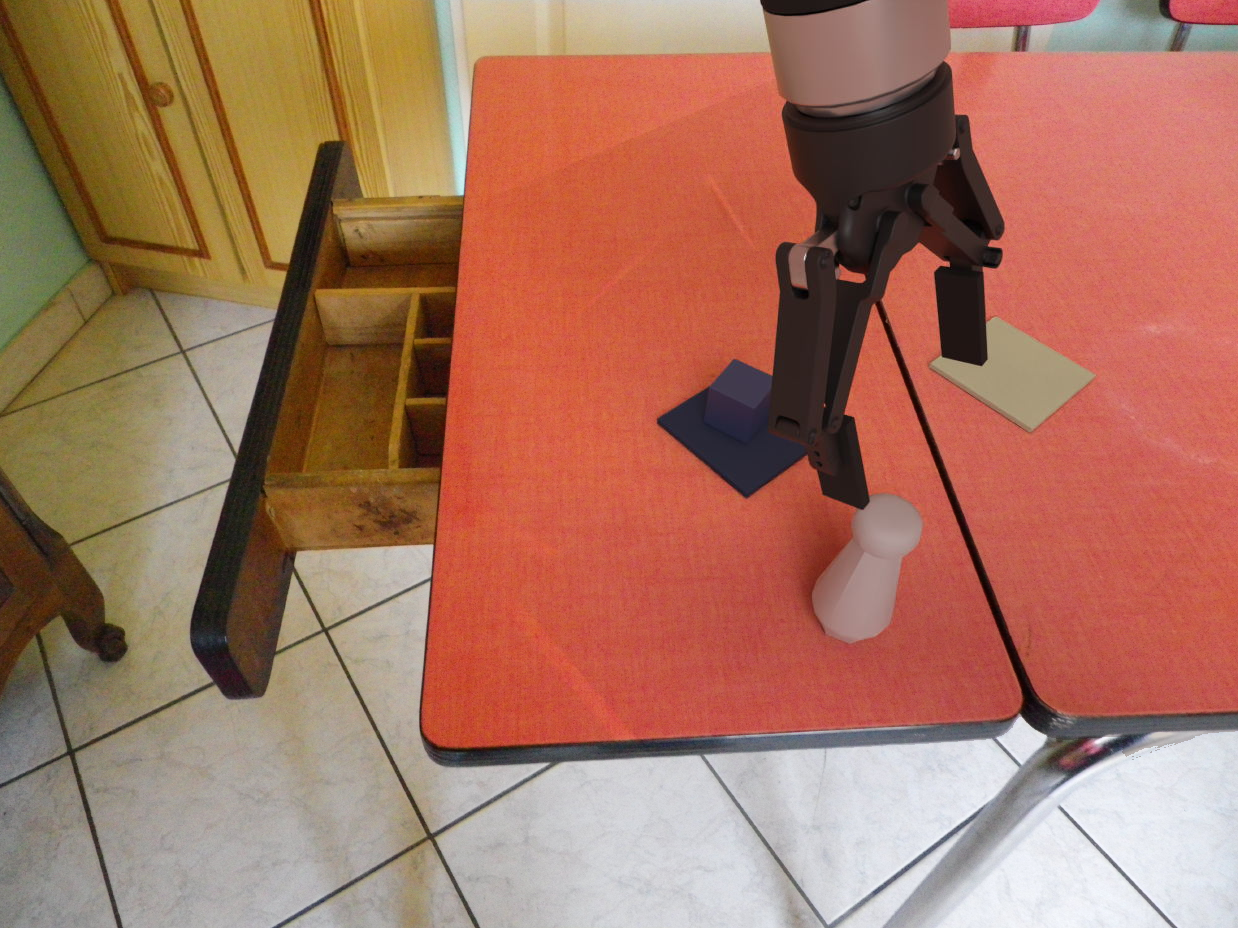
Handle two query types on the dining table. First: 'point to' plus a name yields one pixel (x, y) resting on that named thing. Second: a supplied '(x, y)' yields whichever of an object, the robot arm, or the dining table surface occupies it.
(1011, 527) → the dining table surface
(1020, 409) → the light mat
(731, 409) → the navy block
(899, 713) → the dining table surface
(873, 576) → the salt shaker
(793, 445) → the dark mat
